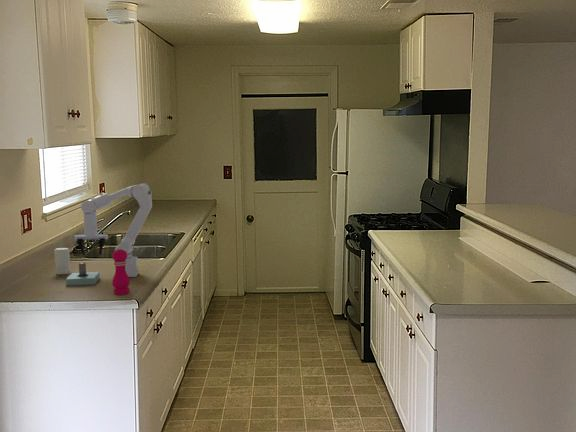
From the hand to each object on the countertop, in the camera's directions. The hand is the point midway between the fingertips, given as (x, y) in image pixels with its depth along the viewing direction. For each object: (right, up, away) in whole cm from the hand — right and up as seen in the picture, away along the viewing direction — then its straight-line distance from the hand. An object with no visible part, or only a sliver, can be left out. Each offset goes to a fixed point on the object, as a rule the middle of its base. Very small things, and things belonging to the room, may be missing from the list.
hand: (92, 254), depth 291 cm
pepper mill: (+21, -14, -29) cm, 39 cm away
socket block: (-1, -12, -11) cm, 16 cm away
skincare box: (-15, -10, +6) cm, 19 cm away
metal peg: (-1, -11, -11) cm, 16 cm away
